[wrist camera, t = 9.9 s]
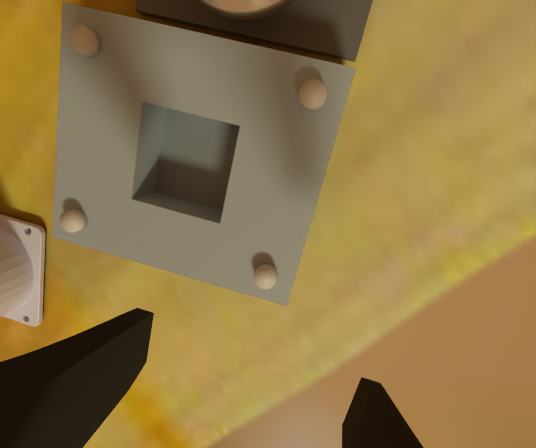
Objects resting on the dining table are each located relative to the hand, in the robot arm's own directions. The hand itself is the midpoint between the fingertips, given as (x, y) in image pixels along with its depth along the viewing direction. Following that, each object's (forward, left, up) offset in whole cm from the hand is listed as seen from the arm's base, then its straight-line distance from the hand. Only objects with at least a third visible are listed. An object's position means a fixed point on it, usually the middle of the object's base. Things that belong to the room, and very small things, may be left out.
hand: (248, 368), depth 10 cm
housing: (-6, +5, -9) cm, 12 cm away
